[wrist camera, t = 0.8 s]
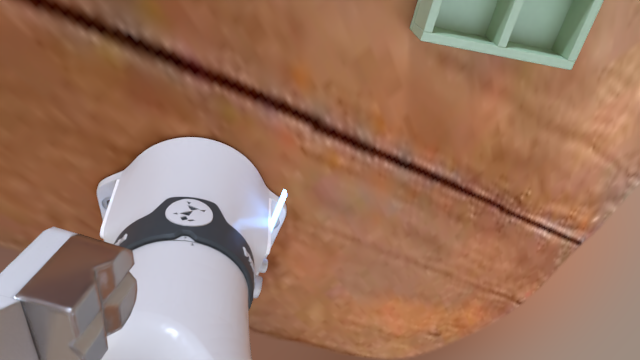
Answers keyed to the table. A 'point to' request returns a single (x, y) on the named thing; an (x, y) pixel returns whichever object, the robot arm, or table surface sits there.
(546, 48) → the compartment tray
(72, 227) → the table surface
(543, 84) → the table surface
